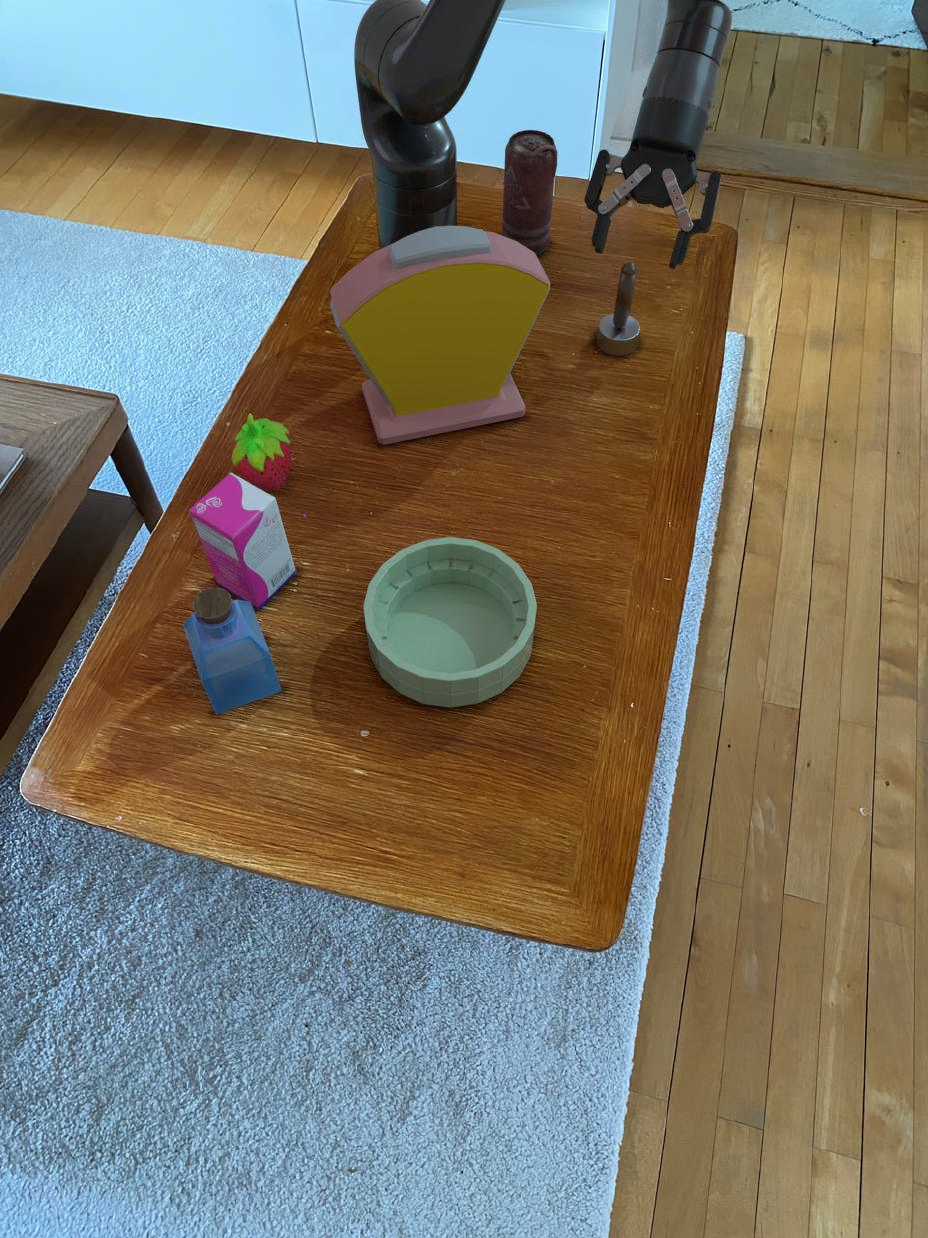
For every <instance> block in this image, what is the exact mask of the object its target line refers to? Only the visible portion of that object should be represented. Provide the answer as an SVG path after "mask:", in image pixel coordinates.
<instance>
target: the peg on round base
mask: <svg viewBox="0 0 928 1238" xmlns="http://www.w3.org/2000/svg"><path fill="white" fill-rule="evenodd" d="M637 275H638V266H637V264H636V263H635V262H632V261H627V262H625V263H623V264H622V266H621V268H620V273H619V277H618V286H617V290H616V291H617V292H616V297H615V304H614V309H613V313H609V314H607V315H605V316H604V317H602V318H601V319H600V321H599V324H598V329H597V337H596V344H597V346H598V348H599V350H601V351H602V352H603V353H605V354H606V355H610V356H614V357H623V356H627V355H630V354H632V353H633V352H634V351H635V350H636V349H637V347H638V343H639V337H640V332H641V326H640V323H639V321H638V320H637V319H636V318H634V317H633V316H631V310H632V309H631V308H632V303H633V298H634V291H635V285H636V279H637Z"/></svg>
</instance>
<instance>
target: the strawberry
mask: <svg viewBox="0 0 928 1238" xmlns="http://www.w3.org/2000/svg"><path fill="white" fill-rule="evenodd" d="M289 435H290V431H289V430H288V429H287V428H286V426H285V425H283V424H282V422H281V423H280V422H279V421H277V420H276V421H275V420H270V419H268V418H265V417H262V418H258V419H256V420H254V415H253V414H252V413H249V414H248V415H247V418H246V422H245V423H243V425H242V426H241V429H240V431H239V432H238V433H237V435H236V436H235V437H234V444H233V446H232V449H231V451H230V453H231V460H232V464H233V466H234V469H235V470H236V472H238V474H239V475H240V476H239V477H242V479H243V480H245V481H246V482H248V483H250V484H251V485H253V486H255V487H257V488H259V489H260V490H262V491H265V492H266V491H267V492H270V491H271V492H274V491H276V490H278V491H280V490H279V489H280V488H282V487H283V486H284V484H285V482H286V481H287V477H288V476H290V469H292V466H291V464H292V451H291V449H292V448H291V446H292V445H291V441H290V436H289Z"/></svg>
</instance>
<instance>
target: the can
mask: <svg viewBox="0 0 928 1238" xmlns="http://www.w3.org/2000/svg"><path fill="white" fill-rule="evenodd" d="M558 153H559V152H558V149H557V146H556V144H555V140H554V137H552V136H551V135H550V134H548V133H547V132H544V131H541V130H538V129H537V130H536V129H524V130H521V131H520V130H519V131H517V132H515V133H513V134H512V135H511V136H510V137H509V139H508V141H507V143H506V145H505V148H504V167H503V168H504V170H503V192H502V193H503V196H502V221H501V235H502V236H504V237H507V238H509V239H512V240H514V241H517V242H518V243H520V244H522V245H523V246H525V247H526V248H528V249H530V250H531V251H533V252H534V253H535V254H536V256H537V257H539V256H541V255H542V254H543V253H545V251H546V250H547V248H548V247H549V244H550V236H551V223H552V212H553V200H554V189H555V177H556V174H557V169H558V156H559V155H558Z"/></svg>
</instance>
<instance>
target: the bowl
mask: <svg viewBox="0 0 928 1238" xmlns="http://www.w3.org/2000/svg"><path fill="white" fill-rule="evenodd" d="M364 597H365V598H364V601H363V605H362V606H363V607H362V609H363V615H364V623H365V631H366V637H367V644H368V651H369V656H370V659H371V661H372V662H373V665H374V667H375V669H376V670H377V672H378V673H379V675H380V677H381V678H382V679H383V680H384V681H385V682H386V683H387V684H389V686H391V688H393V689H394V690H395V691H396V692H397V693H399V694H401V695H402V696H405V697H407V698H410V699H412V700H414V701H416V702H418V703H420V704H423V705H427V706H435V707H436V706H437V707H443V708H457V707H463V706H470V705H477V704H480V703H483V702H484V701H487V700H489V699H491V698H493V697H496V696H498V695H500V694H502V693H503V692H504V691H505V690H506V689H507V688H509V687H510V686H511V685H512V684H513V683H514V682H515V681H517V680H518V678H519V677H521V675H522V673H523V671H524V670H525V667H526V666H527V664H528V662H529V660H530V658H531V657H532V651H533V645H534V644H533V643H534V635H535V627H536V620H537V619H536V617H537V610H538V603H537V599H536V595H535V591H534V588H533V584H532V582H531V581H530V579H529V578H528V576H527V575H526V573H525V572H524V570H523V569H522V567H521V566H520V564H519V563H518V562H516V561H515V560H514V559H513V558H511V557H510V556H509V555H508V554H506V553H505V552H503V551H502V550H501V549H499V548H497V547H494V546H492V545H490V544H487V543H484V542H481V541H479V540H477V539H471V538H470V539H469V538H460V537H453V536H448V537H447V536H446V537H439V538H432V539H424V540H422V541H419V542H417V543H415V544H412V545H410V546H407V547H405V548H403V549H401V550H399V551H397V552H396V553H395V554H394V555H393V556H392V557H389V558H388V559H387V560H386V561H385V562H384V563H382V564H381V565H380V566H379V569H378V570H377V571H376V572H375V574H374V575H373V577H372V578H371V580H370V581H369V583H368V586H367V589H366V593H365V596H364Z"/></svg>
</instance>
